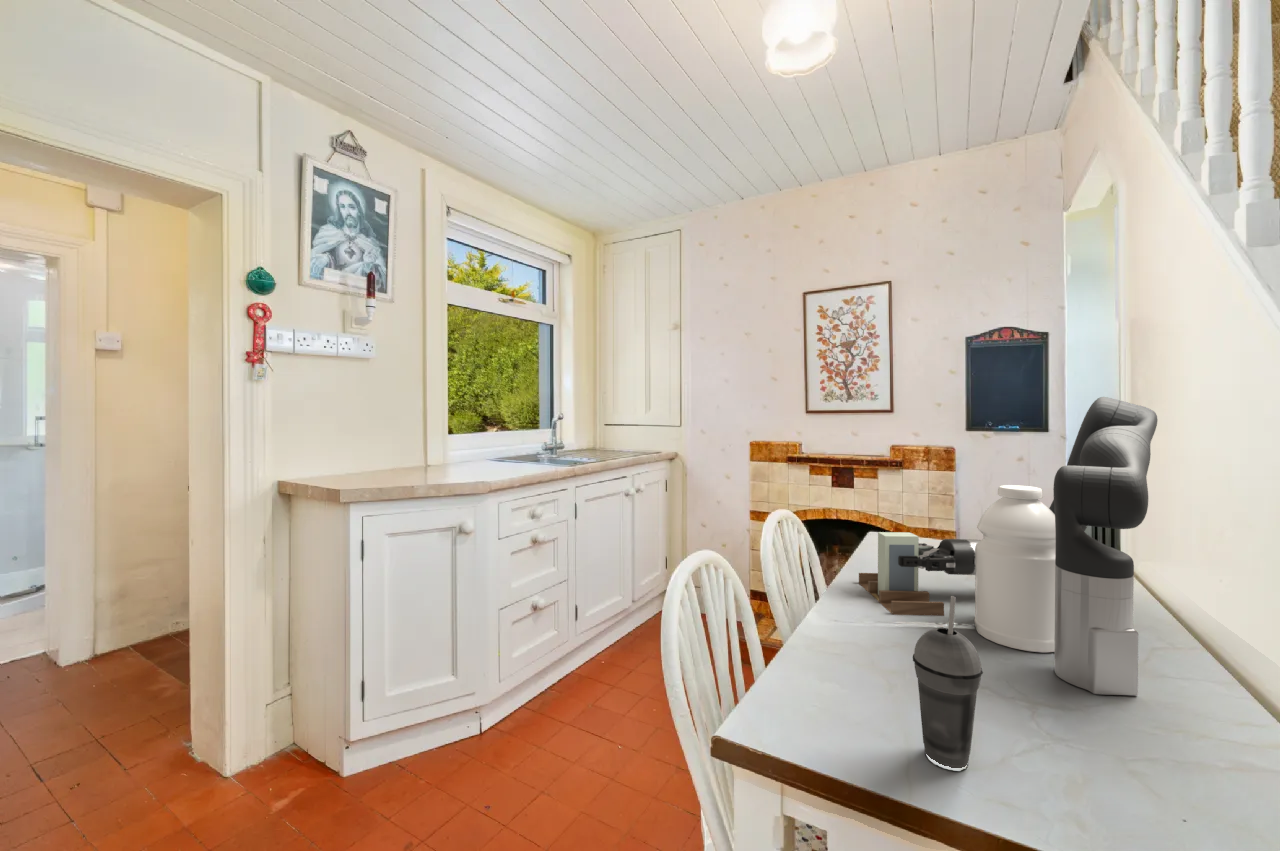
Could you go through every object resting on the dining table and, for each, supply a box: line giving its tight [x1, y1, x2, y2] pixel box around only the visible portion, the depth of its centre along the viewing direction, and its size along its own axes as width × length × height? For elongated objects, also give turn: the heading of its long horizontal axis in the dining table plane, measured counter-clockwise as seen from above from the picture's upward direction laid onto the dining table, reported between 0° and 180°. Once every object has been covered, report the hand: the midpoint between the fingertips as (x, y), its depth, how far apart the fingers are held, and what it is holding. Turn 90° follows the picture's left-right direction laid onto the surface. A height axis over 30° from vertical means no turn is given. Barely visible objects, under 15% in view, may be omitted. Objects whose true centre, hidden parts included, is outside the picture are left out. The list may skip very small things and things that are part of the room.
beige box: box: [877, 531, 920, 595], centre depth 116 cm, size 4×7×14 cm, turn 86°
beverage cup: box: [912, 595, 984, 768], centre depth 63 cm, size 7×7×20 cm
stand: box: [858, 572, 945, 617], centre depth 116 cm, size 20×10×4 cm, turn 176°
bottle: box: [973, 484, 1056, 653], centre depth 98 cm, size 14×14×28 cm
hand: (890, 555), depth 116 cm, fingers open, 8 cm apart
